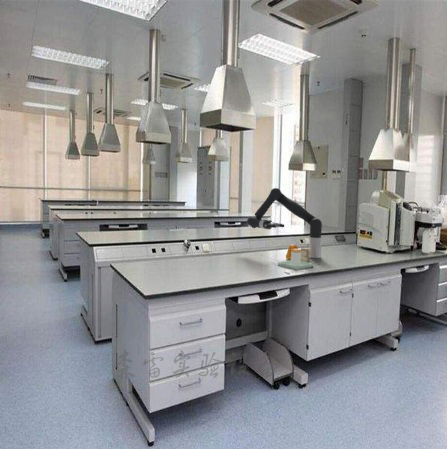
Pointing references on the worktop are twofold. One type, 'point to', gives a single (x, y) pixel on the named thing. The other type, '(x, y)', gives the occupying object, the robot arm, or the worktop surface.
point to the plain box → (305, 255)
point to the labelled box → (295, 257)
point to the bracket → (288, 255)
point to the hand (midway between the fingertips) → (280, 226)
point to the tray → (302, 266)
